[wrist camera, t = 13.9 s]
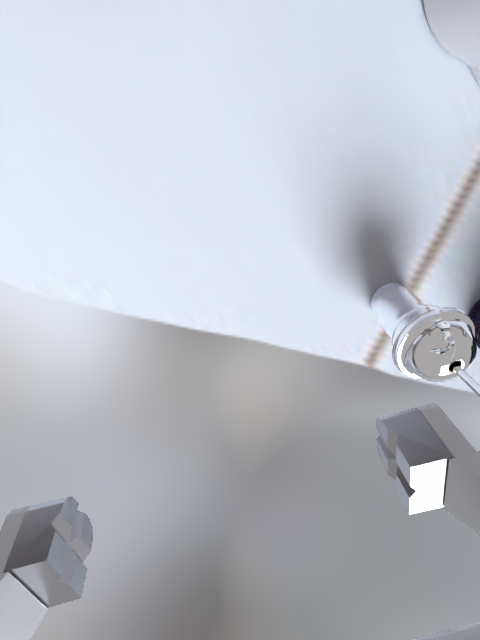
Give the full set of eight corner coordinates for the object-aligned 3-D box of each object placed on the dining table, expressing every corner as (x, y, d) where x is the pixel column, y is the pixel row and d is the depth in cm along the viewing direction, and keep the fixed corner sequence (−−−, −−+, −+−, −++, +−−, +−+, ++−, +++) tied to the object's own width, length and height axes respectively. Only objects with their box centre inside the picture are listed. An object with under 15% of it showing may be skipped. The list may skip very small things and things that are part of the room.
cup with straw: (344, 292, 47) (439, 407, 30) (413, 251, 45) (556, 349, 28) (369, 340, 51) (465, 465, 34) (434, 304, 49) (568, 417, 32)
